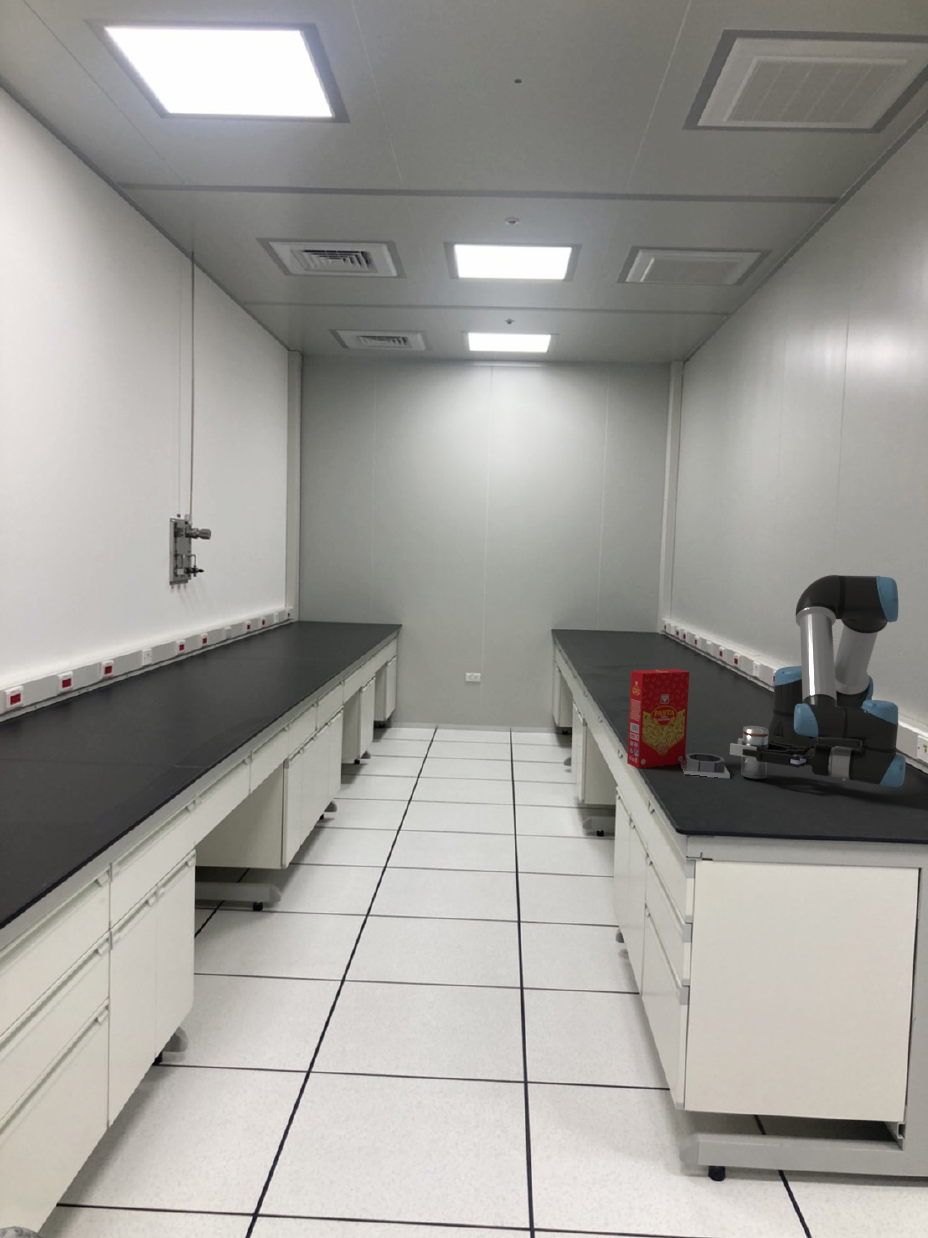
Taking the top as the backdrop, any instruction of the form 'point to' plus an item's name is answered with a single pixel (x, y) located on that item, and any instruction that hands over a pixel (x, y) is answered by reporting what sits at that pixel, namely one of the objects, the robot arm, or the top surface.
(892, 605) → the robot arm
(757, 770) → the lens
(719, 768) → the mount
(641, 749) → the food packaging
